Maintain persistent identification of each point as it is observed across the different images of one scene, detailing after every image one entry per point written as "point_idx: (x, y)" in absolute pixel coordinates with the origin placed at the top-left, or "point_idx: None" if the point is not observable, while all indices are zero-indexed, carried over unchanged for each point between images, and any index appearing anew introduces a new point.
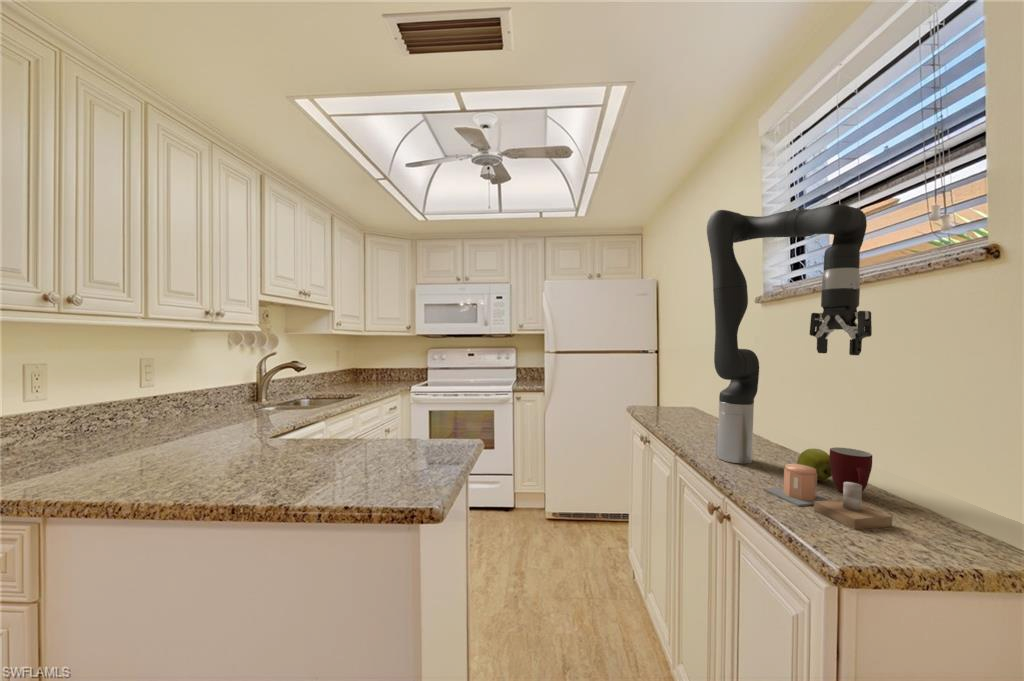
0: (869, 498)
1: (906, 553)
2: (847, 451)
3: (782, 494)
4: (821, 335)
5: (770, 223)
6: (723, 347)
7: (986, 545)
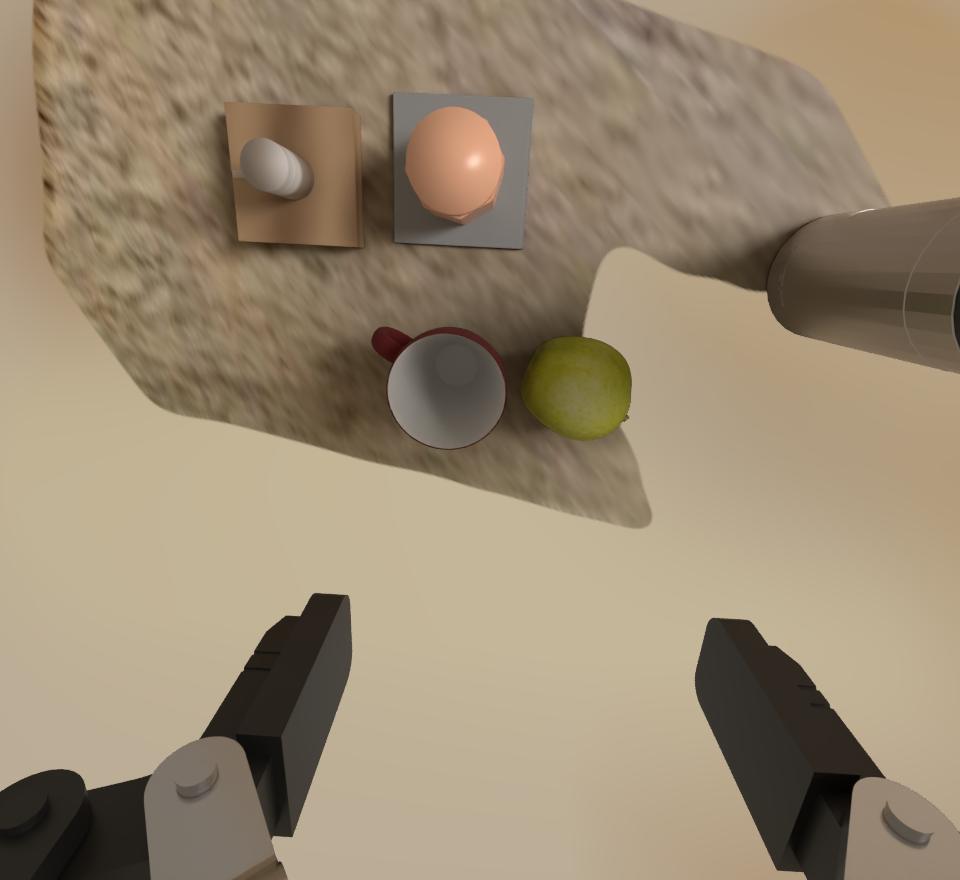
0: None
1: (113, 105)
2: (488, 427)
3: None
4: (841, 842)
5: None
6: None
7: (156, 353)
